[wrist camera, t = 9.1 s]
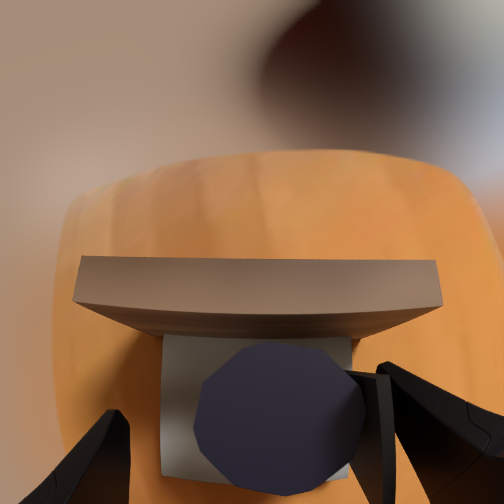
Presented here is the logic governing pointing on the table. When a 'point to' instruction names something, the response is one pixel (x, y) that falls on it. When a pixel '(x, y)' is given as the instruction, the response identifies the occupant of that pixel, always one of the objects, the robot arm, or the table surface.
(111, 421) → the robot arm
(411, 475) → the table surface
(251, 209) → the table surface
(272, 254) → the table surface
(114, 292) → the wall board
